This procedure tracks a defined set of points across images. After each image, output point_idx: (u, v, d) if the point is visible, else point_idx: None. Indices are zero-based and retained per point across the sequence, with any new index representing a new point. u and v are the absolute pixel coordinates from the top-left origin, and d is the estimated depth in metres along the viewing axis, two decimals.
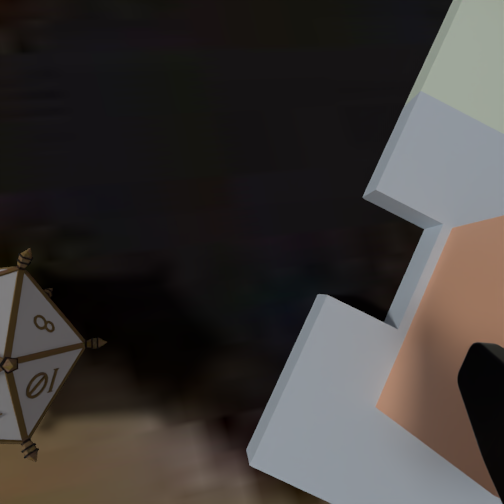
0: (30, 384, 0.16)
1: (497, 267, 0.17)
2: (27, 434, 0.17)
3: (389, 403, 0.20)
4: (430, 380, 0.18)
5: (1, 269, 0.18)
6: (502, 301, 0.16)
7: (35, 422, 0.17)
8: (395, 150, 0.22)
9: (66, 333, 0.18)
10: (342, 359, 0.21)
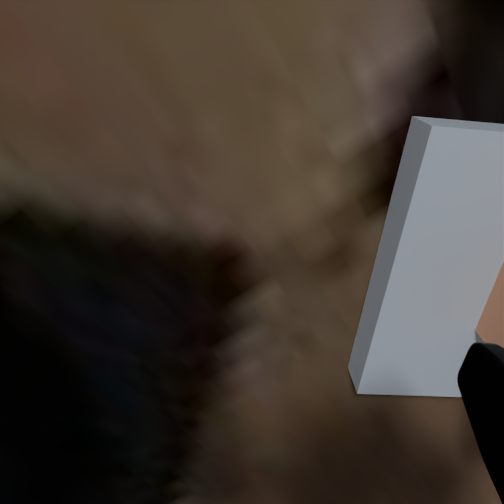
0: None
1: None
2: None
3: None
4: None
5: None
6: None
7: None
8: None
9: None
10: None
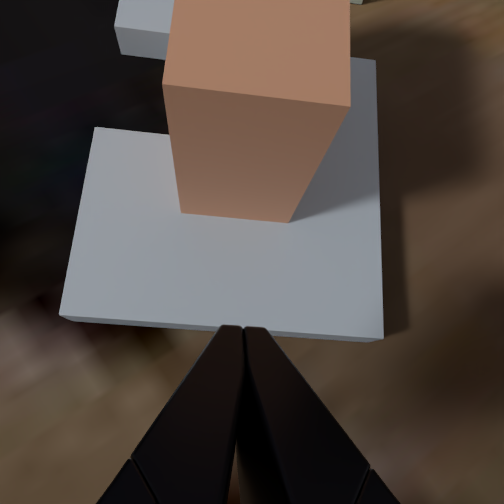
0: None
1: None
2: None
3: None
4: None
5: None
6: None
7: None
8: None
9: None
10: (130, 179, 0.20)
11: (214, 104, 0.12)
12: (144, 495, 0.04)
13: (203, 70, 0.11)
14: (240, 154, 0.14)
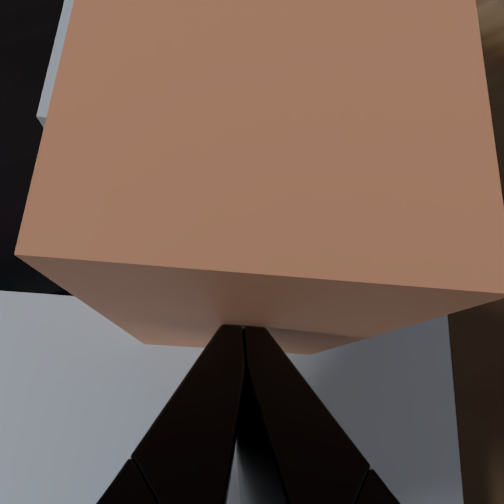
0: None
1: None
2: None
3: None
4: None
5: None
6: None
7: None
8: (53, 59, 0.15)
9: None
10: (48, 385, 0.12)
11: (165, 281, 0.05)
12: (144, 495, 0.04)
13: (131, 207, 0.04)
14: (234, 321, 0.07)
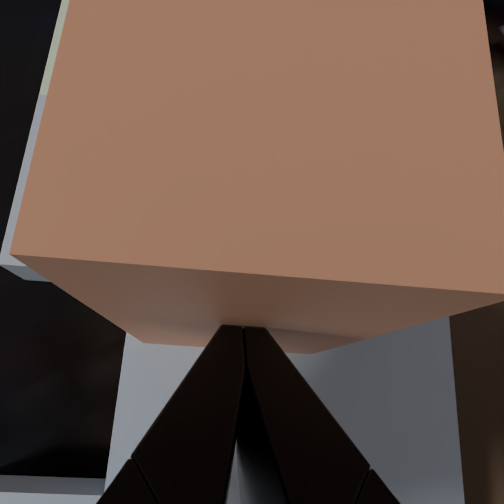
0: None
1: None
2: None
3: None
4: None
5: None
6: None
7: None
8: (19, 191, 0.13)
9: None
10: None
11: (165, 280, 0.05)
12: (144, 495, 0.04)
13: (130, 206, 0.04)
14: (235, 320, 0.07)
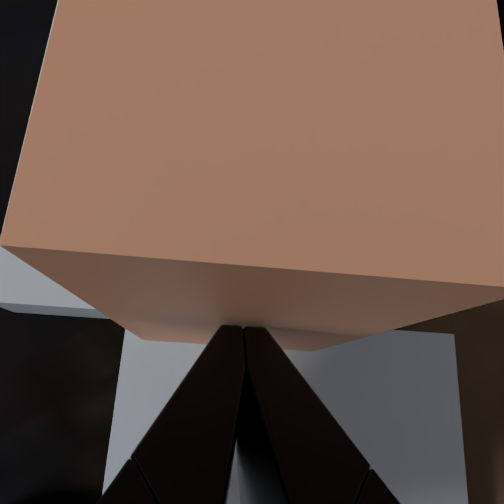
0: None
1: None
2: None
3: None
4: None
5: None
6: None
7: None
8: None
9: None
10: None
11: (162, 274, 0.04)
12: (144, 495, 0.04)
13: (126, 195, 0.04)
14: (235, 316, 0.07)
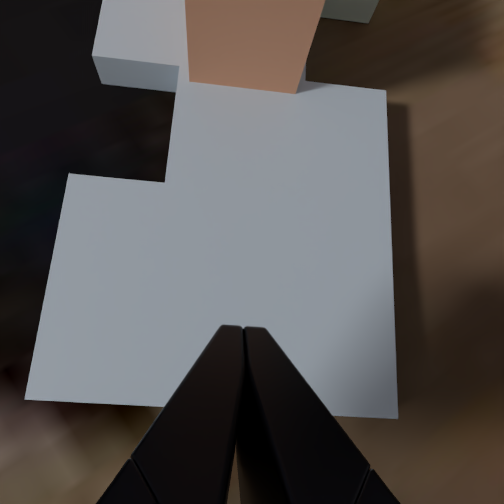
0: None
1: None
2: None
3: None
4: None
5: None
6: None
7: None
8: (102, 14, 0.20)
9: None
10: (108, 235, 0.17)
11: None
12: (144, 495, 0.04)
13: None
14: None
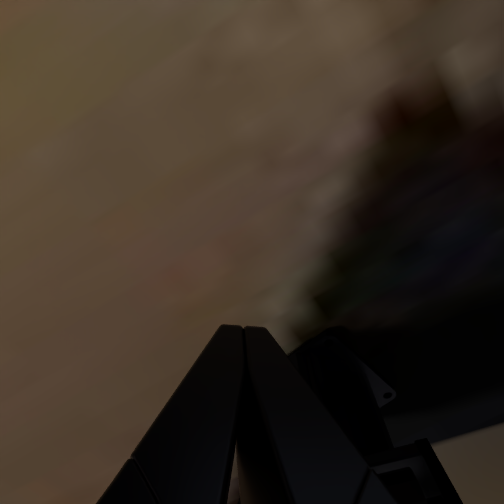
0: None
1: None
2: None
3: None
4: None
5: None
6: None
7: None
8: None
9: None
10: None
11: None
12: (144, 495, 0.04)
13: None
14: None
